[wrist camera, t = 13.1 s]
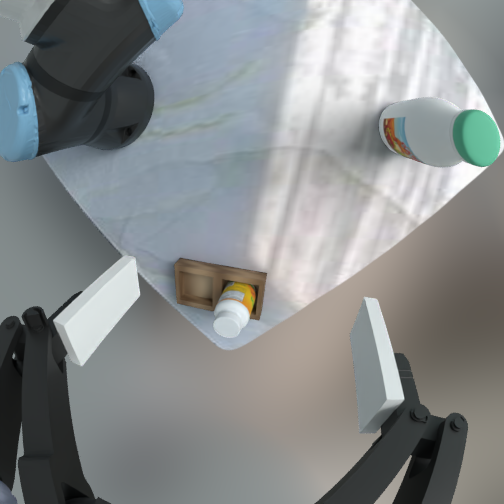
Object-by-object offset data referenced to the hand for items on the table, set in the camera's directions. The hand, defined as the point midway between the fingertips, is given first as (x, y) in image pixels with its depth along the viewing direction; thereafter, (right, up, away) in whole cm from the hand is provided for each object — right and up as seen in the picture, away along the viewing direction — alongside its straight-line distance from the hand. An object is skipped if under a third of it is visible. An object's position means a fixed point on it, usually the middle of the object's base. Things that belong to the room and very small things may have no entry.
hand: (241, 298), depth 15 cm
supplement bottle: (-1, -4, +32) cm, 32 cm away
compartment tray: (-5, -3, +33) cm, 33 cm away
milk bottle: (+22, +20, +17) cm, 34 cm away
